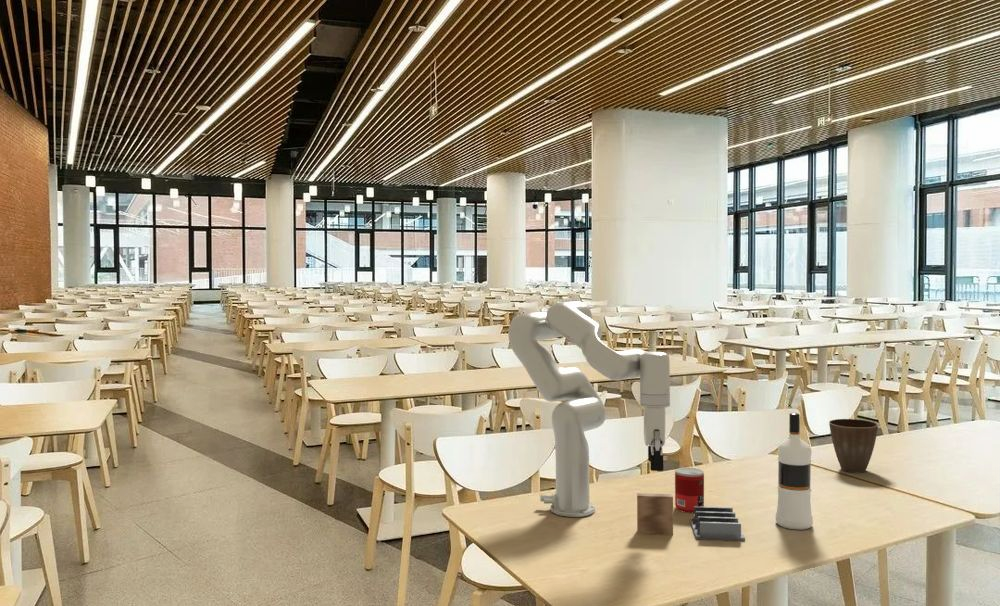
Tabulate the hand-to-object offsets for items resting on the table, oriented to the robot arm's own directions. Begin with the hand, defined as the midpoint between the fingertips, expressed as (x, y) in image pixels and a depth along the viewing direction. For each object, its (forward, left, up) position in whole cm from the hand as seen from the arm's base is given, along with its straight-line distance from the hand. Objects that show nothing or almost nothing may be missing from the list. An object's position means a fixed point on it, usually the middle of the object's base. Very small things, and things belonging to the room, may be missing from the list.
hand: (655, 465), depth 196 cm
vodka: (+37, +10, -18) cm, 42 cm away
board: (0, 0, -18) cm, 18 cm away
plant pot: (+70, +69, -18) cm, 100 cm away
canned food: (+11, +21, -18) cm, 30 cm away
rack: (+16, +3, -18) cm, 24 cm away
